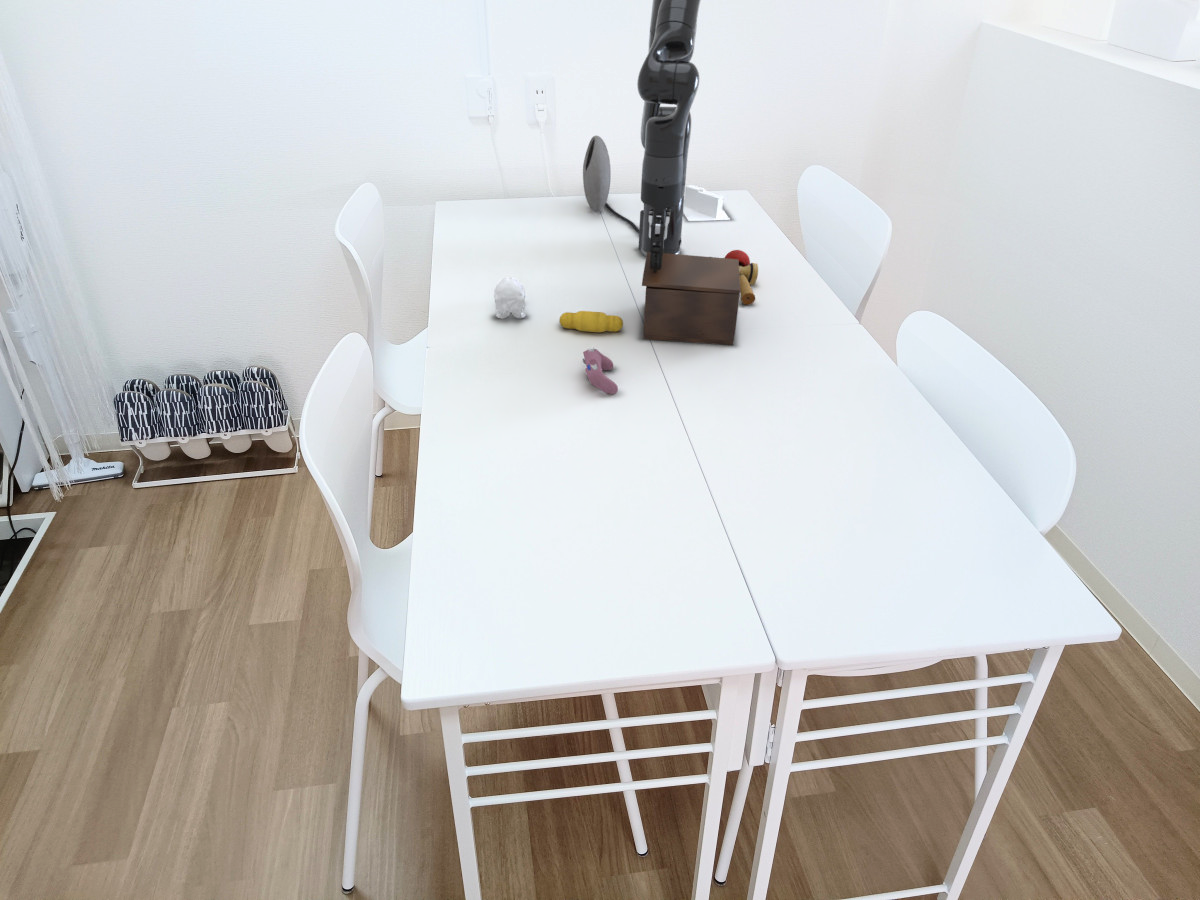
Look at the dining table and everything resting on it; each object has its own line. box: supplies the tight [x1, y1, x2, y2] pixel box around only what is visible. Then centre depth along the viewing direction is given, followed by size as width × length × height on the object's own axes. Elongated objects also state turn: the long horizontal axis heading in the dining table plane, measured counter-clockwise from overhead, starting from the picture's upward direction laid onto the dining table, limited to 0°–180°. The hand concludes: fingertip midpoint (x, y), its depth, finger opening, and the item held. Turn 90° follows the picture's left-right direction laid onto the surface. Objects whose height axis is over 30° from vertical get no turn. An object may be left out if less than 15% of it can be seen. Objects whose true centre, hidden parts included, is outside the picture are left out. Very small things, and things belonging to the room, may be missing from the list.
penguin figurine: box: [493, 276, 527, 319], centre depth 178 cm, size 6×8×12 cm
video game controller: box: [582, 347, 619, 395], centre depth 156 cm, size 10×5×7 cm, turn 5°
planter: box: [582, 135, 612, 213], centre depth 224 cm, size 18×7×19 cm, turn 3°
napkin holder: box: [683, 184, 731, 222], centre depth 229 cm, size 15×11×6 cm
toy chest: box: [642, 286, 741, 346], centre depth 174 cm, size 18×15×11 cm
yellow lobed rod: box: [559, 310, 624, 333], centre depth 173 cm, size 13×4×4 cm, turn 84°
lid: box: [641, 242, 741, 295], centre depth 169 cm, size 19×15×5 cm
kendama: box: [724, 249, 759, 306], centre depth 191 cm, size 8×6×18 cm
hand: (656, 262), depth 170 cm, fingers closed on lid, 5 cm apart
